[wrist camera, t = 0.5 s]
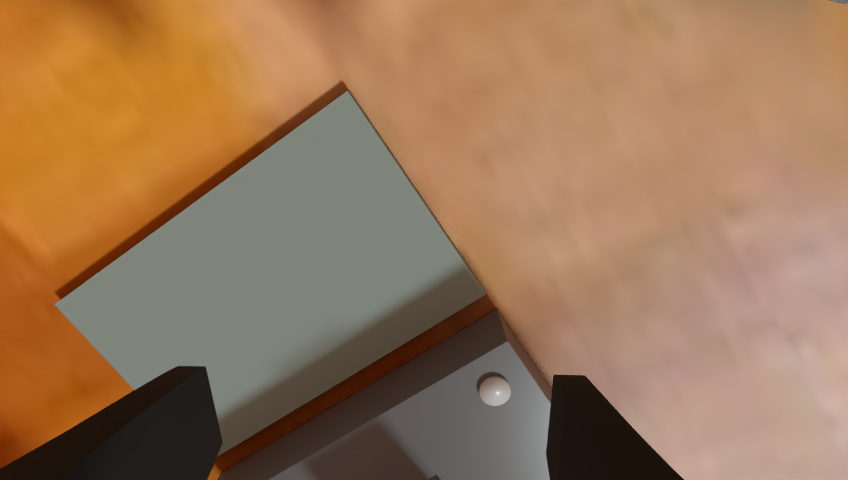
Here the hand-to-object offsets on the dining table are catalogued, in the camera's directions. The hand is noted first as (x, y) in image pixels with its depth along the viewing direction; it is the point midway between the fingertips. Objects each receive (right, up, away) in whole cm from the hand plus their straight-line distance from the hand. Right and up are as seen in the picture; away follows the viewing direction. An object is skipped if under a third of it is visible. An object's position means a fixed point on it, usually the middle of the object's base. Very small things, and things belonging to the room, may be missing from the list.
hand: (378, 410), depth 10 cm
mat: (-6, +1, +11) cm, 12 cm away
